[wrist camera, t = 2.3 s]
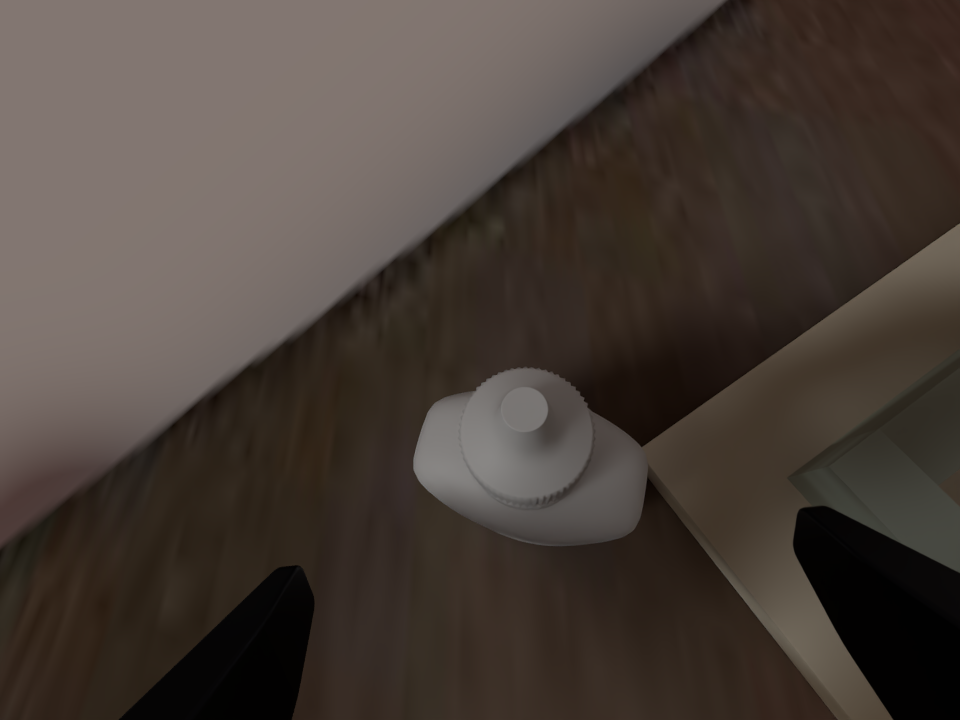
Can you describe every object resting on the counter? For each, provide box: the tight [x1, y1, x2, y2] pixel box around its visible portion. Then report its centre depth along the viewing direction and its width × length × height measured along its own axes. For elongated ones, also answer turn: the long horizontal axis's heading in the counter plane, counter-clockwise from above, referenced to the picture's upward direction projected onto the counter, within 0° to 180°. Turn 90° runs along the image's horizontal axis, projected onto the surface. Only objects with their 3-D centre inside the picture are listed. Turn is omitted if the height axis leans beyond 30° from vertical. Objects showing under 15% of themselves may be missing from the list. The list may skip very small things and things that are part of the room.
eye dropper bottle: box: [414, 367, 648, 546], centre depth 13 cm, size 4×6×12 cm
